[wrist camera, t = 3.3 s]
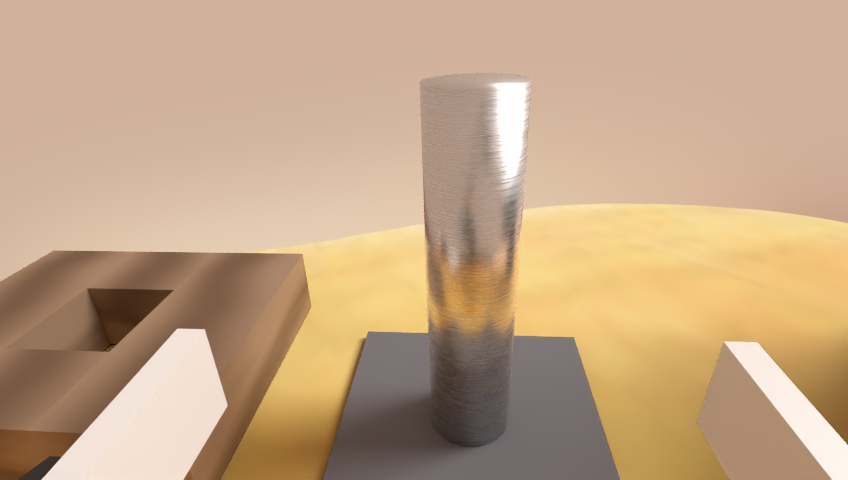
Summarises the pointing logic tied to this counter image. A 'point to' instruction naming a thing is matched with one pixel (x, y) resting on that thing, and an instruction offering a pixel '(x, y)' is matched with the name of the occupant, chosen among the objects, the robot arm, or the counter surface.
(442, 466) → the rubber mat
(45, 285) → the socket block
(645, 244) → the counter surface
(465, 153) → the metal pin
